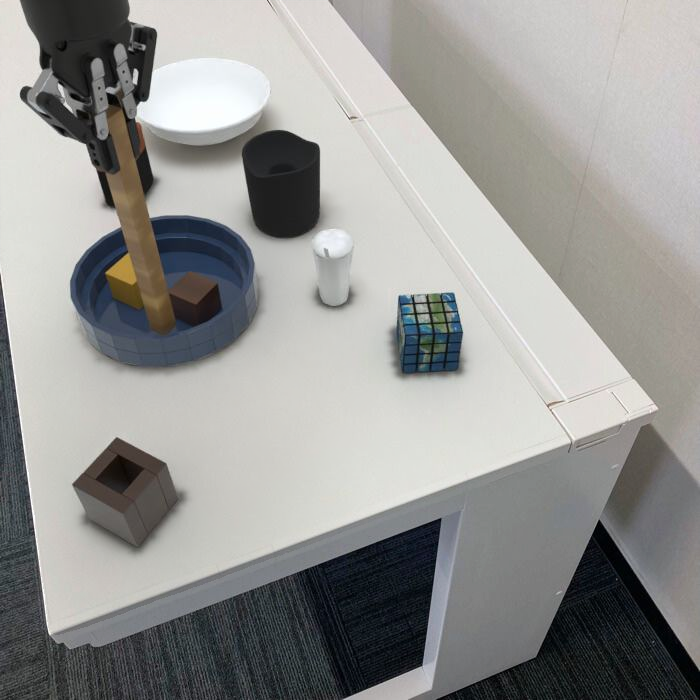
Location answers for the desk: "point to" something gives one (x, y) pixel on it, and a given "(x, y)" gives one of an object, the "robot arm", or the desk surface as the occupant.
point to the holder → (126, 491)
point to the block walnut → (195, 299)
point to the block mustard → (124, 283)
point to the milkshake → (333, 264)
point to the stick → (138, 228)
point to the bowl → (204, 100)
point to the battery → (142, 167)
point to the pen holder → (282, 182)
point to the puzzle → (428, 332)
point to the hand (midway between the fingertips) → (119, 162)
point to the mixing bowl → (177, 259)
